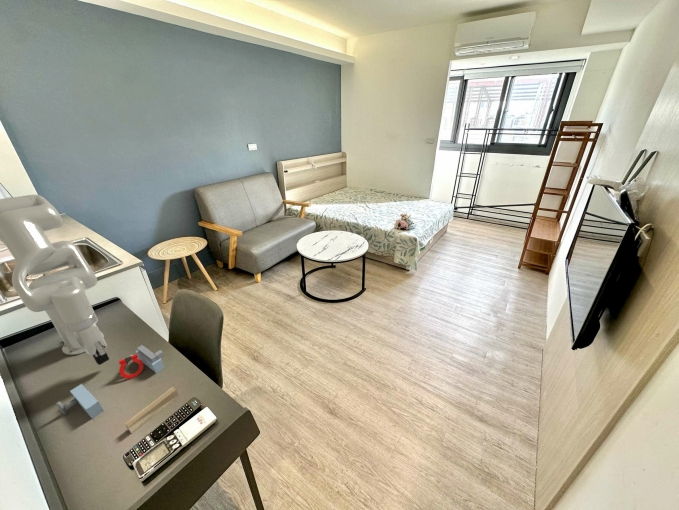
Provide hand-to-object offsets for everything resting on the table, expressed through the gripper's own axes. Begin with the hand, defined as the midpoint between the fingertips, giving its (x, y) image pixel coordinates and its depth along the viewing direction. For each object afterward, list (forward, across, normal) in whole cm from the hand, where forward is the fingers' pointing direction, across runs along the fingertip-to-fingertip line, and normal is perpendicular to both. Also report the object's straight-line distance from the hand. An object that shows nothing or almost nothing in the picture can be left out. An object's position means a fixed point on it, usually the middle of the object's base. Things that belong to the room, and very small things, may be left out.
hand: (103, 361), depth 97 cm
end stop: (+4, +32, 0) cm, 32 cm away
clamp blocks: (+4, +12, 0) cm, 12 cm away
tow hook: (+6, +9, +5) cm, 12 cm away
